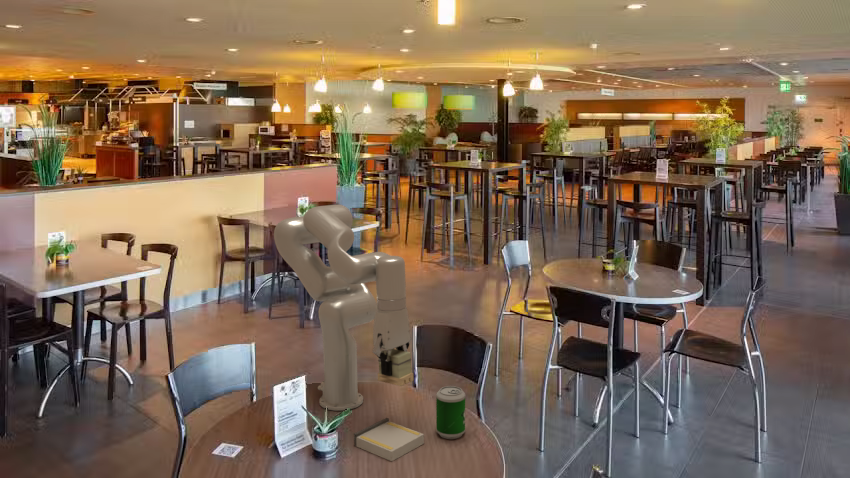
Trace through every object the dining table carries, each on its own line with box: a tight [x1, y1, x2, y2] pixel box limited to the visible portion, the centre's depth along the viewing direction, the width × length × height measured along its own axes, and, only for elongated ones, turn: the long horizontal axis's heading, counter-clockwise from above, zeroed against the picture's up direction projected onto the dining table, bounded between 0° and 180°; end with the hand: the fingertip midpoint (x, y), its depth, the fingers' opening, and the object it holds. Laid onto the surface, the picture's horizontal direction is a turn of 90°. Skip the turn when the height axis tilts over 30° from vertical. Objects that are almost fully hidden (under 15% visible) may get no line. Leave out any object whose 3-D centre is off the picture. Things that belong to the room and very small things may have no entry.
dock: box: [353, 417, 425, 462], centre depth 169 cm, size 13×12×3 cm
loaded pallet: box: [377, 348, 414, 387], centre depth 175 cm, size 8×5×8 cm, turn 52°
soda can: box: [435, 385, 466, 440], centre depth 174 cm, size 8×8×12 cm
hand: (394, 371), depth 175 cm, fingers closed on loaded pallet, 5 cm apart
